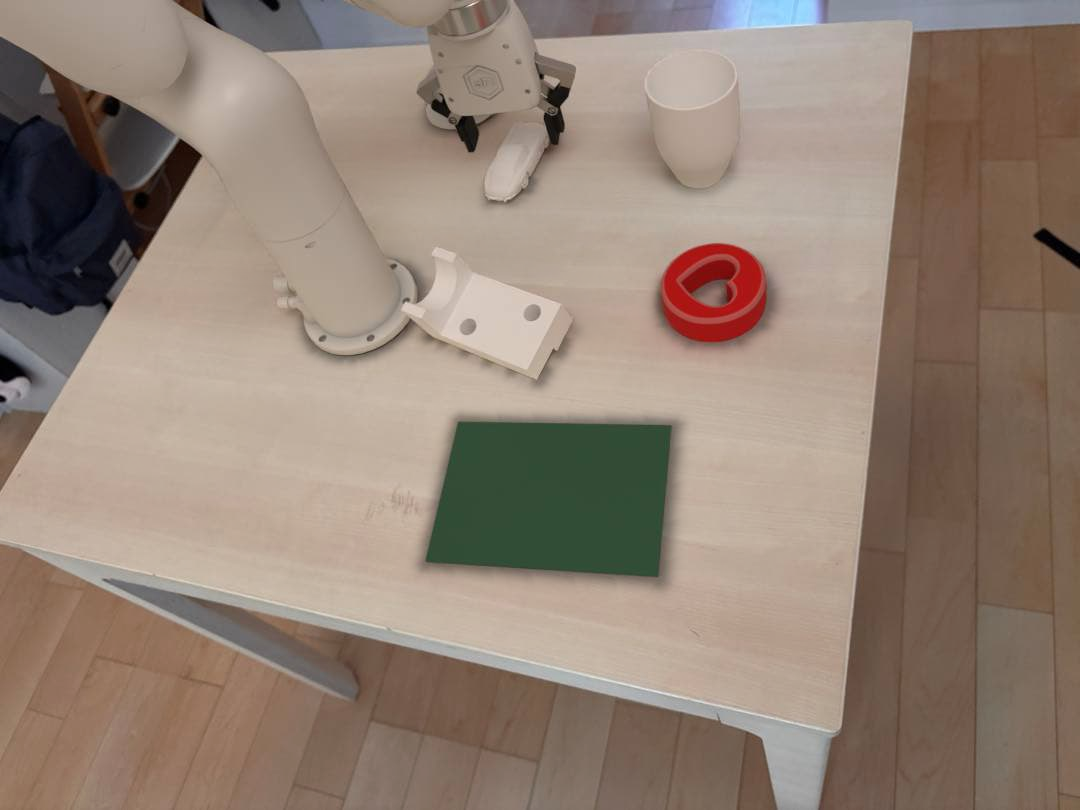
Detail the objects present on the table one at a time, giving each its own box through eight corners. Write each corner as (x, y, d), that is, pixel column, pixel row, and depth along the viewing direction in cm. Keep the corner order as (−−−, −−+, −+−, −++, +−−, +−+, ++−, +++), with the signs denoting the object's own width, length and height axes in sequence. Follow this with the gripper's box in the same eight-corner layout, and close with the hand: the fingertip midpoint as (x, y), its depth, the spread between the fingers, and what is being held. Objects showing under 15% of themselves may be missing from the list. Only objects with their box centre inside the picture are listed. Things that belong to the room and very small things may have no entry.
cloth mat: (426, 562, 75) (425, 560, 74) (459, 423, 82) (458, 421, 82) (658, 577, 69) (657, 575, 69) (671, 426, 76) (671, 425, 76)
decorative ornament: (652, 280, 86) (648, 259, 83) (747, 251, 85) (746, 229, 82) (679, 354, 80) (676, 334, 78) (781, 324, 79) (781, 302, 77)
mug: (726, 207, 89) (720, 113, 79) (646, 195, 92) (630, 103, 82) (760, 130, 94) (758, 32, 84) (683, 121, 97) (672, 26, 87)
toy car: (556, 134, 101) (550, 110, 98) (517, 208, 96) (510, 185, 93) (519, 131, 103) (512, 107, 100) (479, 204, 97) (470, 181, 95)
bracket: (437, 340, 89) (400, 310, 82) (468, 281, 90) (435, 246, 83) (540, 383, 83) (510, 354, 77) (573, 319, 84) (546, 285, 78)
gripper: (375, 38, 83) (436, 170, 97) (548, 16, 78) (586, 158, 92) (393, -10, 87) (449, 123, 101) (560, -35, 82) (594, 109, 96)
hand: (515, 140), depth 96 cm, fingers open, 9 cm apart
